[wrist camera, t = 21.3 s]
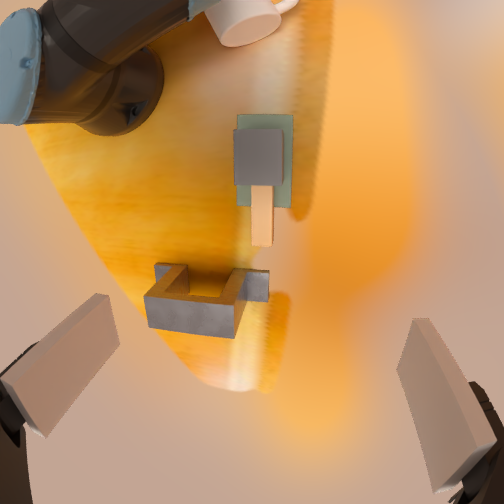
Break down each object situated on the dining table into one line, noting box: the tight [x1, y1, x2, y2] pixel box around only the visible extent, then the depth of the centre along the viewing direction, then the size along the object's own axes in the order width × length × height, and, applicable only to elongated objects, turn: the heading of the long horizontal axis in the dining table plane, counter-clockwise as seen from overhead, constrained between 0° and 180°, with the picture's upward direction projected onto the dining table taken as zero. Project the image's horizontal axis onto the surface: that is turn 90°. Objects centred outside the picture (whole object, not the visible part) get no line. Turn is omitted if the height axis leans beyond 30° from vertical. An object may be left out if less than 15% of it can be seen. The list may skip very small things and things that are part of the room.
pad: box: [237, 115, 293, 208], centre depth 37 cm, size 12×7×1 cm, turn 179°
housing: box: [144, 263, 269, 339], centre depth 39 cm, size 4×17×10 cm, turn 90°
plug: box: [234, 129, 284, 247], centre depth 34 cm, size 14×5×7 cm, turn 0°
